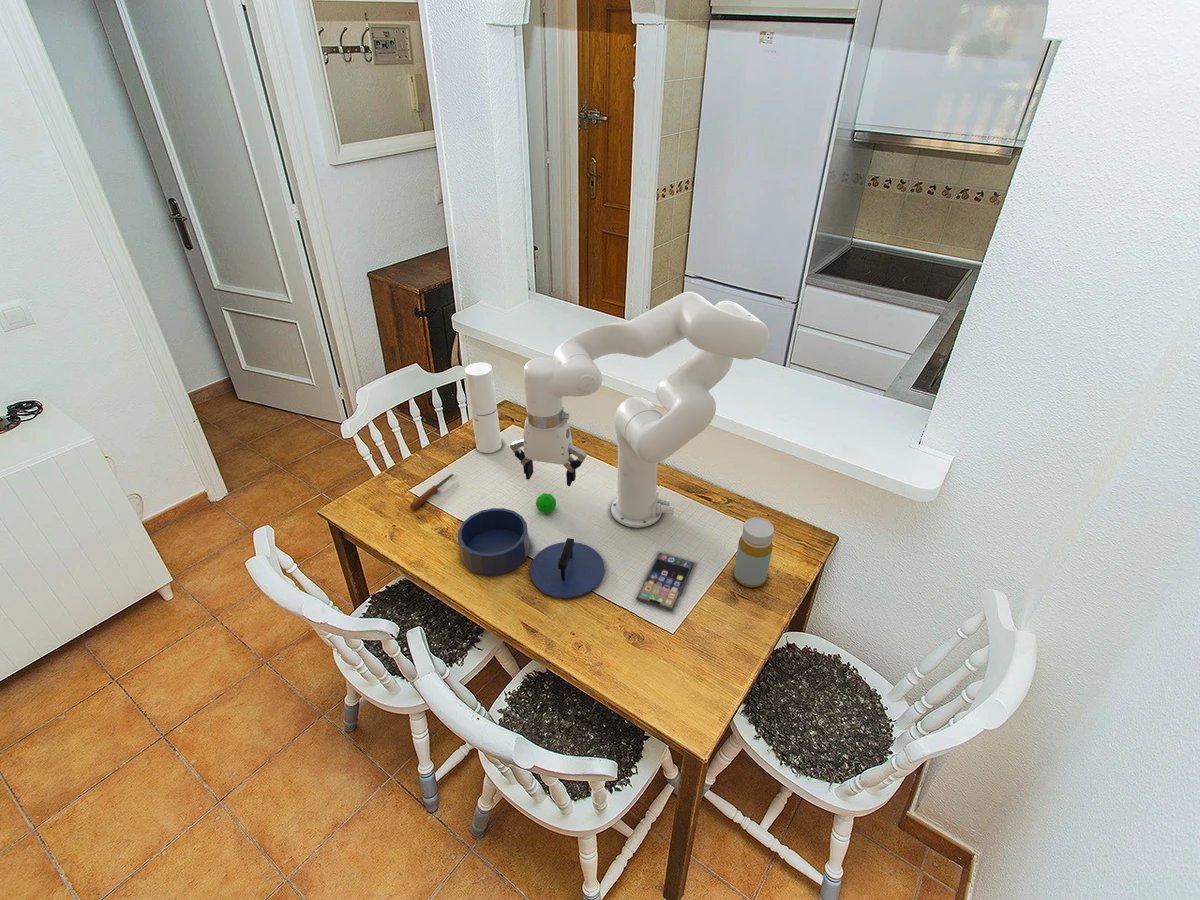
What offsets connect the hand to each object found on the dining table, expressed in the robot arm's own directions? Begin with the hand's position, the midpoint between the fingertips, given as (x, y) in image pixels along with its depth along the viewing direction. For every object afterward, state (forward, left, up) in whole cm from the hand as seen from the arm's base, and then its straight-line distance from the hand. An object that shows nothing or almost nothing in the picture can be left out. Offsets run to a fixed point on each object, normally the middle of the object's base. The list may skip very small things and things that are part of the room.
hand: (550, 479), depth 143 cm
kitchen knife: (+34, -8, -16) cm, 39 cm away
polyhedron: (+4, -7, -16) cm, 18 cm away
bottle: (-46, +6, -16) cm, 49 cm away
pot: (+12, +9, -16) cm, 22 cm away
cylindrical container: (+28, -31, -16) cm, 45 cm away
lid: (-6, +12, -16) cm, 21 cm away
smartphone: (-28, +11, -16) cm, 34 cm away
